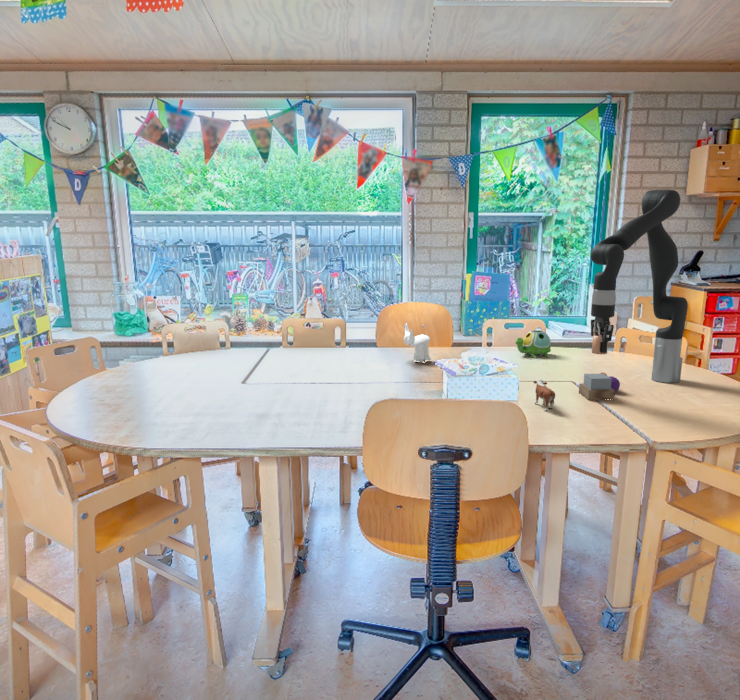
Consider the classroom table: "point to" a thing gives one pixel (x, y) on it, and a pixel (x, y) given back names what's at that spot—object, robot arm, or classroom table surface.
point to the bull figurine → (544, 393)
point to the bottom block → (596, 393)
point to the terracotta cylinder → (597, 345)
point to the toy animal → (417, 344)
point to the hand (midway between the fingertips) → (599, 350)
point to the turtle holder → (534, 343)
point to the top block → (597, 381)
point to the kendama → (614, 382)
